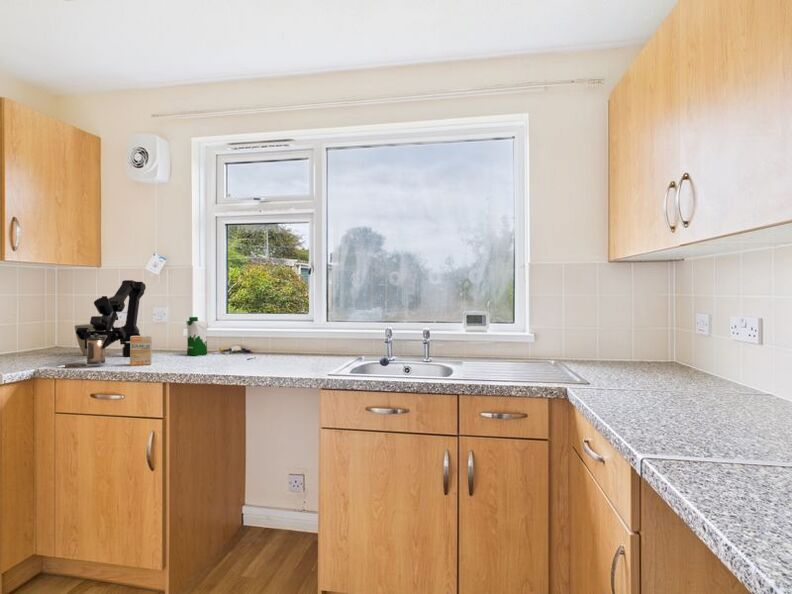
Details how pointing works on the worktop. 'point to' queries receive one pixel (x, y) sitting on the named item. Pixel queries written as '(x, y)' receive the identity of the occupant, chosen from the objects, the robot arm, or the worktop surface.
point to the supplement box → (140, 350)
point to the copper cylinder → (95, 350)
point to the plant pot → (82, 342)
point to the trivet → (74, 364)
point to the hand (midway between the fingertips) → (94, 348)
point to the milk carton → (196, 337)
